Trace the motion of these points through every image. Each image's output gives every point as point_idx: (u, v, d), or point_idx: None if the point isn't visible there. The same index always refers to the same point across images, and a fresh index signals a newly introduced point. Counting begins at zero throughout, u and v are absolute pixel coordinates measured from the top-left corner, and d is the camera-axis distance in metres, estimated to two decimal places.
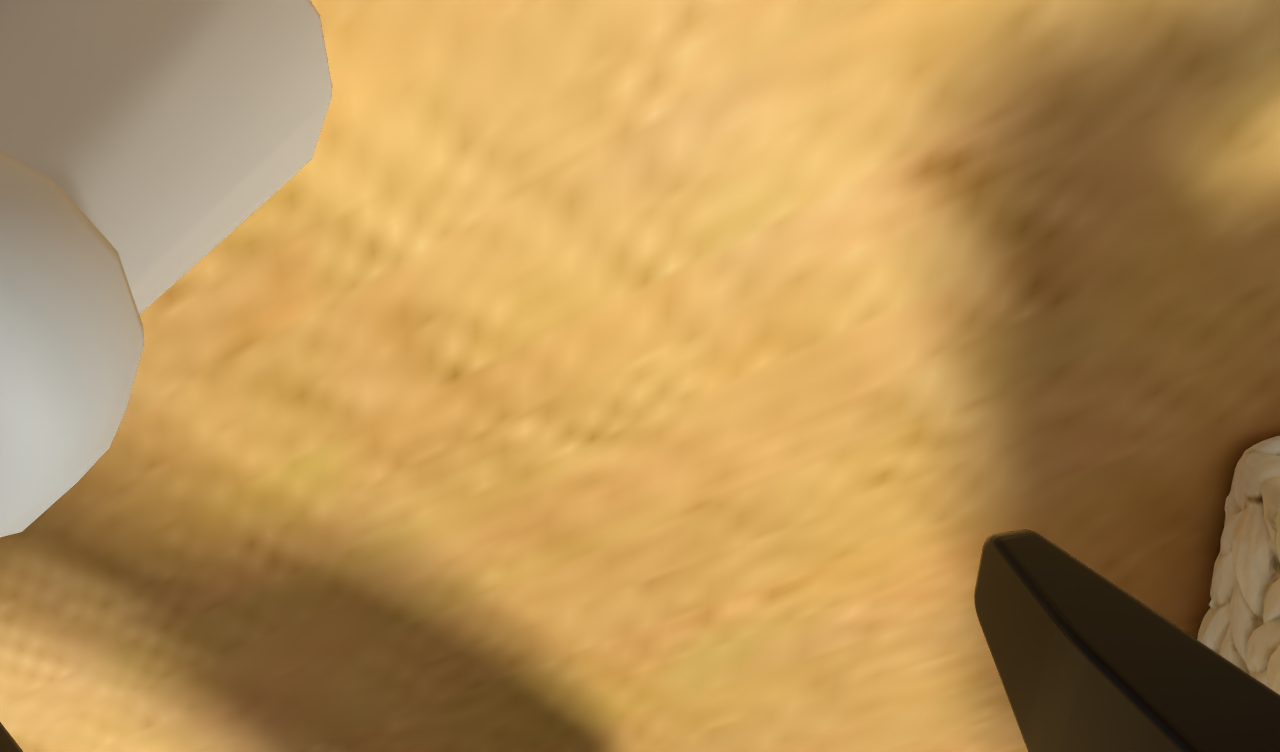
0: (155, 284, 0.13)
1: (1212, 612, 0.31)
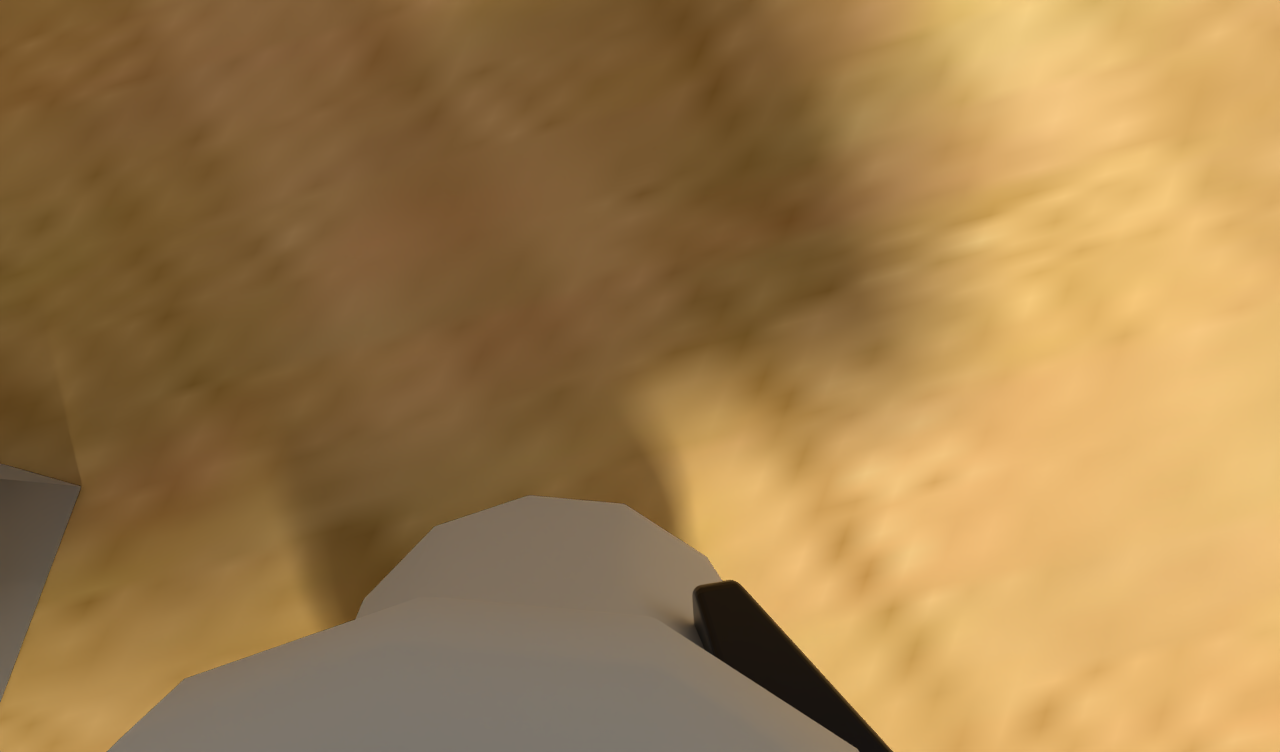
0: None
1: None
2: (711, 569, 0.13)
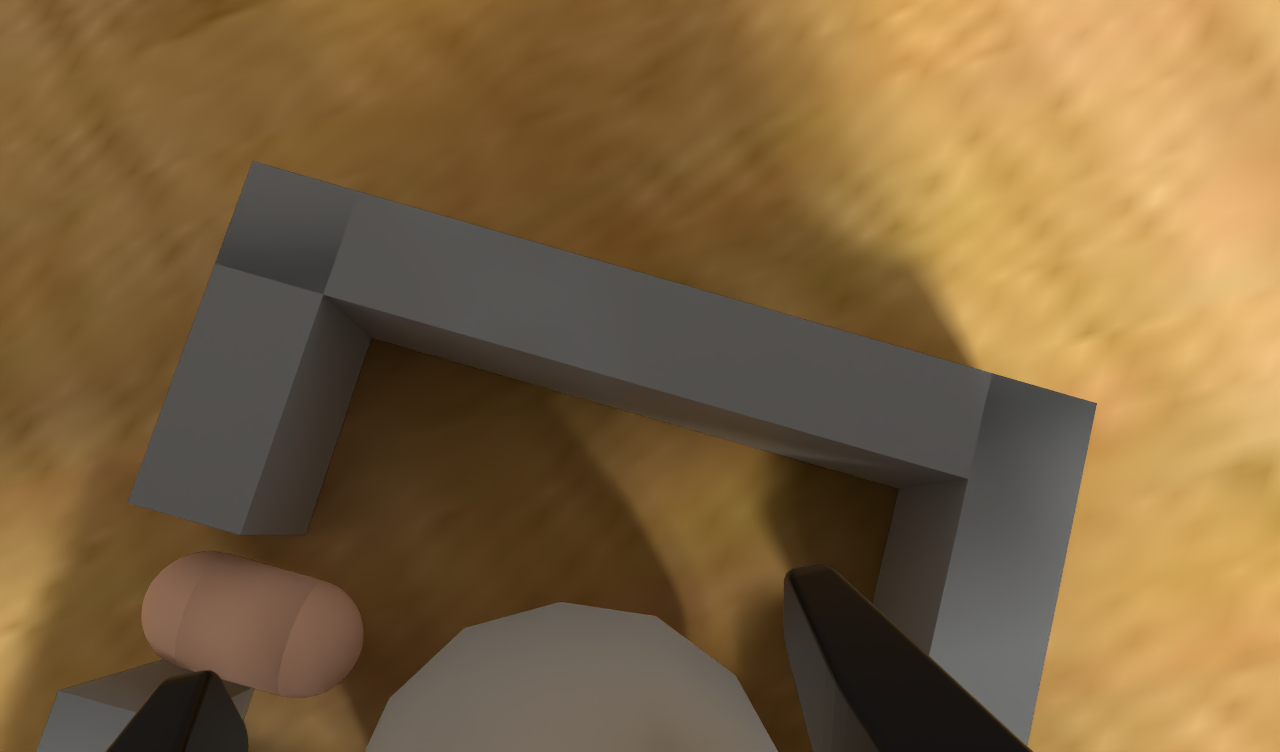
0: None
1: None
2: (740, 692, 0.13)
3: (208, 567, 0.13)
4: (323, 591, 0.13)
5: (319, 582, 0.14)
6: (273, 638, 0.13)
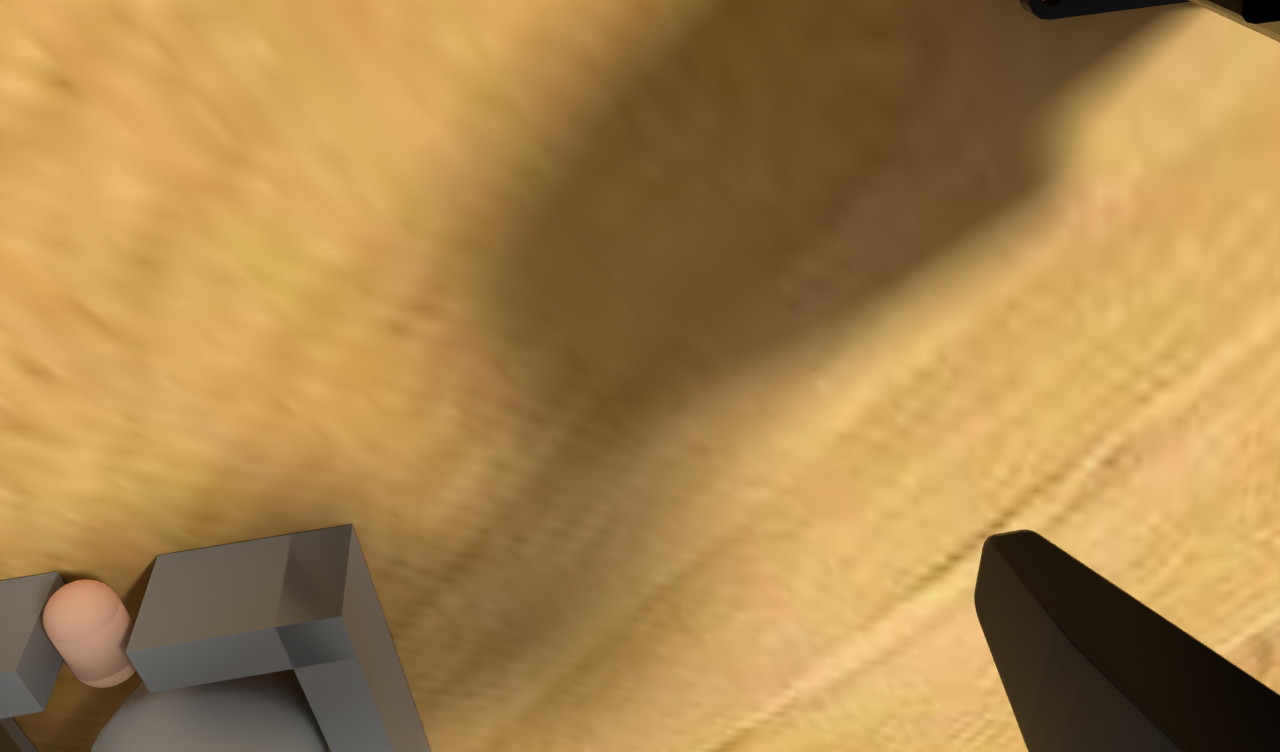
0: None
1: None
2: None
3: None
4: None
5: None
6: None
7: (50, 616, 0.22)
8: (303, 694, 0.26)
